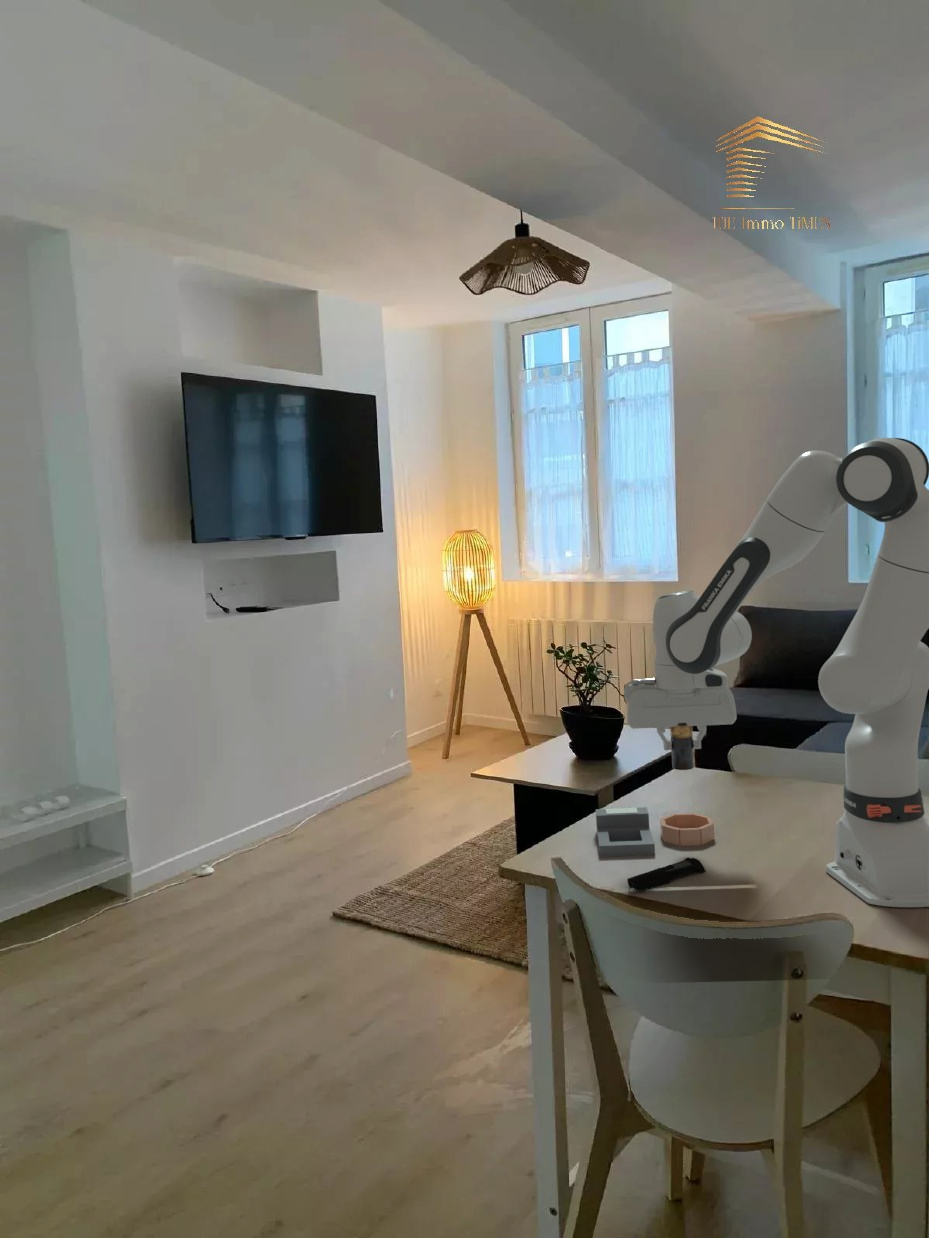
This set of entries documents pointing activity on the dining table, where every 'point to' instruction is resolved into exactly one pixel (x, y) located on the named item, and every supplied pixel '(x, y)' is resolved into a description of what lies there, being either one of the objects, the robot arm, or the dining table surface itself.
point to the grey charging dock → (624, 832)
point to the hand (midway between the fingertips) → (682, 748)
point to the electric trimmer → (666, 874)
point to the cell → (682, 747)
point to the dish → (687, 829)
